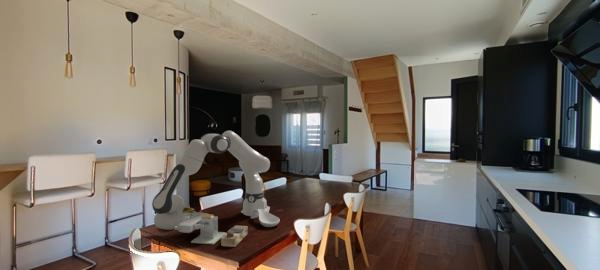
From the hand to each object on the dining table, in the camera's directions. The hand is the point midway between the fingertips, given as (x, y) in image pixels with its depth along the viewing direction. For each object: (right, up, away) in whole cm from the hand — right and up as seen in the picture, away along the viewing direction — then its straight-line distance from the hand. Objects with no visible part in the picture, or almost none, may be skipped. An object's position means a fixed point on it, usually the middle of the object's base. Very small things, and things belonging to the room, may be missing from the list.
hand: (208, 223), depth 142 cm
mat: (0, -8, 0) cm, 8 cm away
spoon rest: (+25, -8, +23) cm, 35 cm away
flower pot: (-22, -7, +20) cm, 31 cm away
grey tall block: (0, -7, 0) cm, 7 cm away
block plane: (+14, -8, -2) cm, 16 cm away
